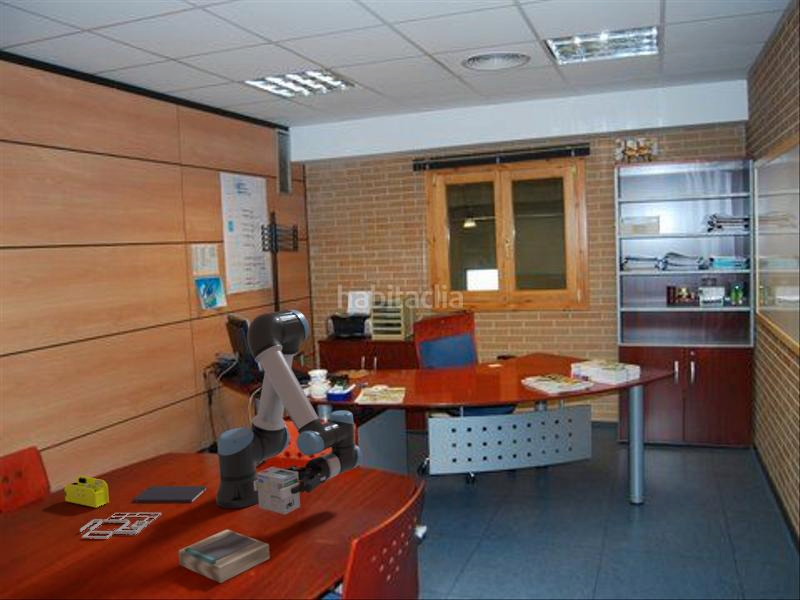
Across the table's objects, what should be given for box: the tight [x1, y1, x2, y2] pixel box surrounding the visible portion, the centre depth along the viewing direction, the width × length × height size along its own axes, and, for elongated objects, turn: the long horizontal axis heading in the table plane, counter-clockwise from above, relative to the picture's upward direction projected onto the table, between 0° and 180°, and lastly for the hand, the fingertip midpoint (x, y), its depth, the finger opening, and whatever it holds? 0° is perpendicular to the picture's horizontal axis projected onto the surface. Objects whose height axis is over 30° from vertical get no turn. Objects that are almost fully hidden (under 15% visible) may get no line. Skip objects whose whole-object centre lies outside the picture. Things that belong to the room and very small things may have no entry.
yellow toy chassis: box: [63, 475, 110, 508], centre depth 231 cm, size 16×6×8 cm, turn 62°
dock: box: [178, 529, 271, 584], centre depth 183 cm, size 18×16×5 cm
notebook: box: [132, 485, 207, 503], centre depth 235 cm, size 13×2×21 cm
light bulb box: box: [256, 466, 301, 515], centre depth 197 cm, size 11×7×11 cm, turn 57°
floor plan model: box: [79, 512, 162, 540], centre depth 207 cm, size 19×25×2 cm
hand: (267, 490), depth 194 cm, fingers closed on light bulb box, 11 cm apart
